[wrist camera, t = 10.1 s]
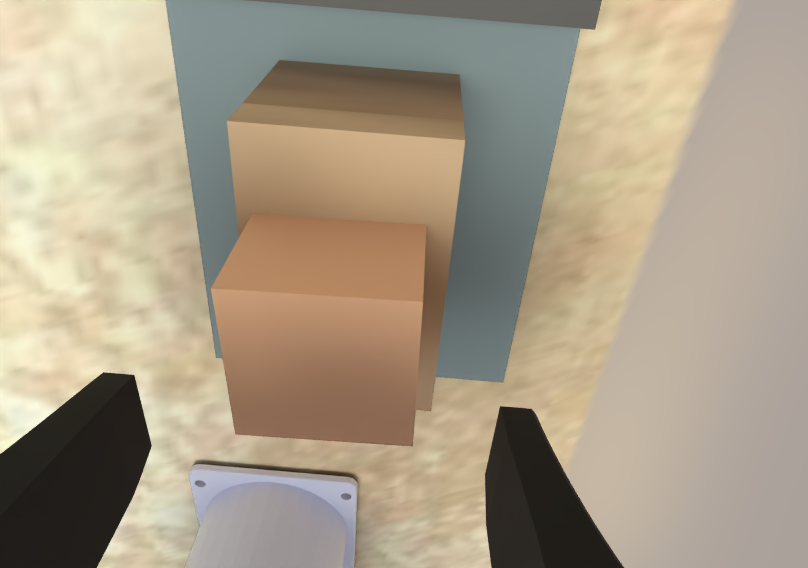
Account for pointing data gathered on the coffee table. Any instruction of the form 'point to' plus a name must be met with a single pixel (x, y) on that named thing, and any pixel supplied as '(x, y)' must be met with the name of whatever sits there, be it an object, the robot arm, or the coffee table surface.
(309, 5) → the dock
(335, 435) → the carton
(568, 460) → the coffee table surface
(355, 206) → the tan rectangular block
